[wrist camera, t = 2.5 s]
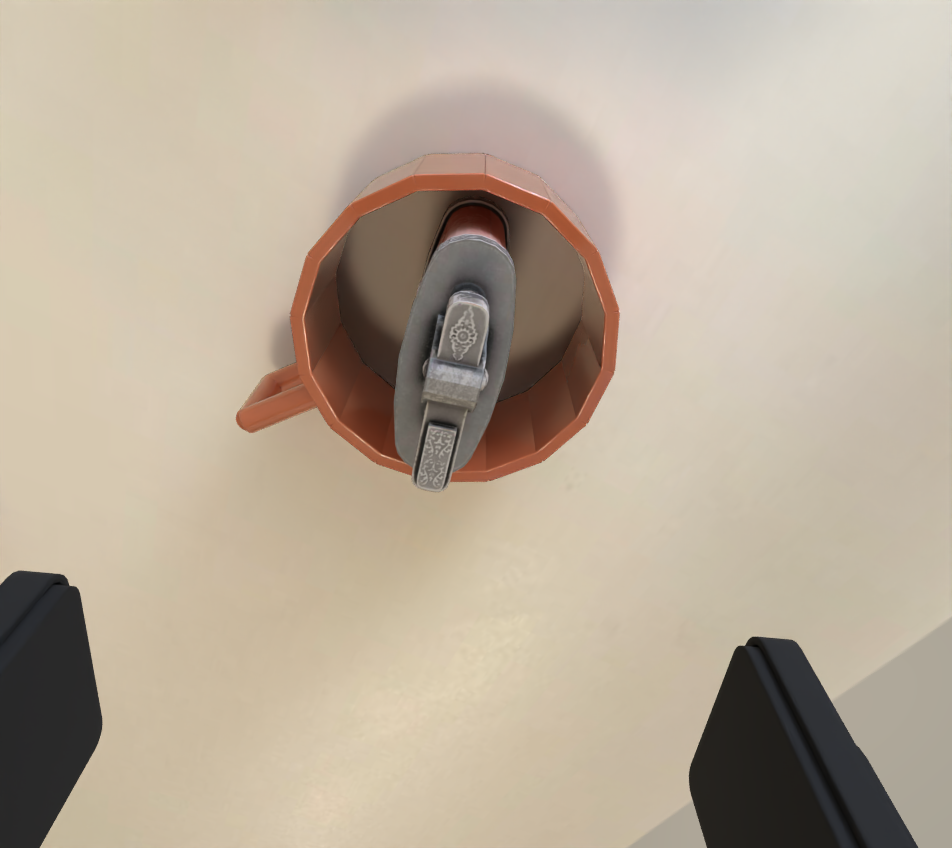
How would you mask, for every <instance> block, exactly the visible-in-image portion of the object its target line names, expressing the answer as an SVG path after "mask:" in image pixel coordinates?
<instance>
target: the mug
mask: <svg viewBox="0 0 952 848" xmlns="http://www.w3.org/2000/svg"><path fill="white" fill-rule="evenodd" d="M458 190H483V191H486V192H488V193H491V194H493V195H496V196H498V197H500V198H503V199H505V200H508V201H510V202H512V203H515V204H517V205H520V206H522V207H525V208H527V209H529V210H532V211H534V212H537V213H539V214H541V215H543V216H544V218H545V219H546V220H547V221H548V222H549V223H550V224H551V225H552V226H553V227H554V228H555V229H556V230H557V231H558V232H559V233H560V234H561V235H562V236H563V237H564V238H565V239H566V240H567V241H568V242H569V243H570V244H571V246H572V247H573V248H574V249H575V250H576V251H577V254H578V256H579V259H580V262H581V264H582V267H583V270H584V281H583V300H582V318H581V321H580V323H579V325H578V327H577V329H576V331H575V333H574V335H573V337H572V339H571V341H570V344H569V346H568V348H567V350H566V352H565V354H564V356H563V358H562V360H561V361H560V362H559V363H558V364H557V365H556V366H555V367H554V368H552V369H551V370H550V371H549V372H548V373H547V374H546V375H545V376H544V377H542V378H541V379H540V380H539V381H538V382H537V383H536V384H535V385H534V386H533V387H531V388H530V389H529V390H528V391H526V392H523V393H521V394H518V395H516V396H513V397H510V398H508V399H505V400H503V401H500V402H497V403H496V404H495V407H494V410H493V413H492V416H491V418H490V421H489V423H488V425H487V427H486V429H485V431H484V433H483V435H482V437H481V439H480V441H479V443H478V445H477V447H476V449H475V451H474V453H473V455H472V457H471V459H470V460H469V461H468V463H467V464H466V465H465V466H464V467H462V468H461V469H459V470H457V471H455V472H453V473H452V476H451V480H450V482H487V481H488V480H489V481H491V480H494V479H497V478H500V477H503V476H505V475H508V474H511V473H514V472H516V471H519V470H522V469H525V468H527V467H530V466H533V465H536V464H538V463H541V462H542V461H545V460H546V459H547V458H548V457H549V456H550V455H552V454H553V453H554V452H555V451H556V450H558V449H559V448H560V447H561V446H562V445H563V444H565V443H566V442H567V441H568V440H569V439H570V438H572V437H573V436H574V435H575V434H576V433H578V432H579V431H580V430H581V429H582V428H583V427H585V426H586V423H588V422H589V420H590V418H591V416H592V414H593V412H594V411H595V409H596V407H597V405H598V403H599V401H600V399H601V397H602V395H603V394H604V392H605V390H606V388H607V386H608V384H609V382H610V380H611V378H612V377H613V375H614V371H615V365H616V353H617V340H618V328H619V316H620V313H619V307H618V304H617V301H616V298H615V296H614V293H613V290H612V287H611V284H610V281H609V279H608V276H607V273H606V270H605V267H604V264H603V262H602V259H601V256H600V253H599V251H598V249H597V248H596V246H595V245H594V243H593V241H592V240H591V238H590V236H589V235H588V233H587V231H586V230H585V228H584V227H583V225H582V223H581V222H580V220H579V218H578V217H577V215H576V214H575V213H574V212H573V211H572V210H571V209H570V208H569V207H568V206H567V205H566V204H565V203H564V202H563V201H562V200H561V198H560V197H559V196H558V195H557V194H556V193H555V192H554V191H553V190H552V189H551V188H550V187H549V186H548V185H547V184H546V183H545V182H544V180H543V179H542V178H541V177H538V175H536V174H534V173H531V172H529V171H526V170H524V169H522V168H519V167H517V166H515V165H512V164H510V163H508V162H505V161H503V160H500V159H498V158H496V157H493V156H491V155H489V154H486V155H485V153H462V154H428V155H424V156H422V157H420V158H417V159H415V160H413V161H411V162H409V163H407V164H405V165H402V166H400V167H398V168H396V169H394V170H392V171H390V172H388V173H385V174H383V175H381V176H379V177H377V178H376V179H375V180H373V181H372V182H371V183H370V184H369V185H368V186H367V187H366V188H365V189H364V190H363V191H362V192H361V193H360V194H359V195H358V196H357V197H356V198H355V199H354V200H353V201H352V202H351V203H350V204H349V205H348V206H347V207H346V209H345V210H344V211H343V212H342V213H341V215H340V216H339V217H338V218H337V219H336V220H335V222H334V223H333V224H332V225H331V226H330V227H329V229H328V230H327V231H326V232H325V233H324V234H323V236H322V237H321V238H320V239H319V240H318V242H317V243H316V244H315V245H314V246H313V247H312V249H311V250H310V251H309V252H308V255H307V256H306V258H305V262H304V265H303V269H302V273H301V276H300V280H299V283H298V287H297V290H296V294H295V297H294V301H293V305H292V308H291V312H290V315H291V316H290V322H291V329H292V335H293V342H294V349H295V356H296V362H295V363H293V364H290V365H288V366H286V367H283V368H281V369H279V370H276V371H274V372H271V373H269V374H267V375H265V376H264V377H263V378H262V379H261V380H260V382H259V383H258V385H257V386H256V387H255V389H254V390H253V392H252V393H251V394H250V396H249V397H248V399H247V400H246V401H245V403H244V404H243V406H242V407H241V408H240V410H239V411H238V413H237V415H236V421H237V424H238V425H239V426H240V427H241V428H242V429H243V430H245V431H248V432H249V433H255V432H257V431H260V430H262V429H265V428H267V427H270V426H272V425H274V424H277V423H279V422H282V421H284V420H287V419H289V418H292V417H294V416H297V415H299V414H302V413H304V412H307V411H309V410H311V409H314V408H316V407H317V408H318V409H319V411H320V413H321V414H322V416H323V418H324V419H325V421H326V423H327V424H328V426H330V428H331V429H332V430H334V431H335V432H336V433H337V434H339V435H340V436H341V437H342V438H344V439H345V440H346V441H348V442H349V443H350V444H351V445H353V446H354V447H355V448H356V449H358V450H359V451H360V452H361V453H363V454H364V455H365V456H367V457H368V458H369V459H370V460H372V461H373V462H376V464H379V465H382V466H385V467H387V468H390V469H393V470H396V471H399V472H402V473H405V474H408V475H411V476H412V470H413V468H412V467H411V466H409V465H408V464H406V463H405V462H404V461H403V460H402V458H401V457H400V456H399V454H398V453H397V449H396V445H395V423H394V397H395V389H394V388H393V387H391V386H390V385H389V384H388V383H387V382H385V381H384V380H383V379H382V378H381V377H379V376H378V375H377V374H376V373H375V372H374V371H372V370H371V369H370V368H369V367H368V366H366V365H365V364H364V363H363V362H362V360H361V358H360V356H359V354H358V352H357V351H356V349H355V347H354V345H353V343H352V341H351V340H350V338H349V336H348V334H347V332H346V330H345V329H344V327H343V325H342V323H341V318H340V309H339V300H338V291H337V282H336V272H337V269H338V266H339V262H340V259H341V256H342V252H343V249H344V246H345V243H346V239H347V236H348V233H349V230H350V229H351V228H352V226H353V225H354V224H355V223H356V222H357V221H358V219H359V218H360V217H362V216H364V215H367V214H369V213H371V212H373V211H375V210H377V209H380V208H382V207H384V206H386V205H388V204H391V203H393V202H395V201H397V200H399V199H401V198H404V197H406V196H408V195H410V194H412V193H414V192H417V191H458Z"/></svg>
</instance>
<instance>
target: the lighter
mask: <svg viewBox="0 0 952 848" xmlns="http://www.w3.org/2000/svg"><path fill="white" fill-rule="evenodd" d="M509 238H510V232H509V225H508V219H507V217H506V215H505V214H504V212H503V210H502V209H501V208H500V207H499V206H498V205H497V204H495V203H494V202H493V201H490V200H488V199H485V198H483V197H473V196H470V197H466V198H462V199H459V200H457V201H456V202H454V203H453V204H451V205H450V206H449V208H448V209H447V211H446V212H445V214H444V216H443V218H442V221H441V223H440V226H439V228H438V231H437V233H436V236H435V238H434V241H433V243H432V246H431V248H430V251H429V254H428V257H427V261H426V265H425V269H424V272H423V276H422V280H421V281H420V284H419V287H418V290H417V294H416V297H415V299H414V302H413V305H412V309H411V312H410V316H409V320H408V324H407V327H406V331H405V335H404V339H403V342H402V346H401V350H400V354H399V360H398V369H397V378H396V387H395V397H394V423H395V445H396V449H397V453H398V454H399V456H400V457H401V458H402V460H403V461H404V462H405V463H406V464H408V465H409V466H411V467H412V468H413V470H412V482H413V484H414V485H415V486H416V487H417V488H419V489H422V490H426V491H431V492H440V491H444V490H445V489H446V488H447V487H448V485H449V483H450V480H451V476H452V473H453V472H455V471H457V470H459V469H461V468H462V467H464V466H465V465H466V464H467V463H468V461H469V460H470V459H471V457H472V455H473V453H474V451H475V449H476V447H477V445H478V443H479V441H480V439H481V437H482V435H483V433H484V431H485V429H486V427H487V425H488V423H489V421H490V418H491V416H492V413H493V410H494V407H495V404H496V401H497V398H498V395H499V393H500V390H501V387H502V384H503V381H504V378H505V373H506V368H507V362H508V357H509V352H510V346H511V341H512V335H513V329H514V313H515V296H516V275H515V268H514V262H513V260H512V259H511V257H510V255H509Z"/></svg>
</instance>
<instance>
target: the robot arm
mask: <svg viewBox="0 0 952 848" xmlns="http://www.w3.org/2000/svg"><path fill="white" fill-rule="evenodd" d="M101 731H102V715H101V709H100V703H99V698H98V692H97V687H96V681H95V675H94V670H93V664H92V658H91V653H90V647H89V642H88V636H87V630H86V625H85V619H84V614H83V608H82V602H81V597H80V593H79V590H78V589H77V587H74V586H69V583H68V580H67V578H66V577H65V576H64V575H61V574H52V573H41V572H30V571H17V572H14V573H12V574H11V575H10V576H9V577H7V578H6V579H5V581H4V582H3V583H2V584H1V585H0V848H40V846H41V844H42V843H43V841H44V839H45V837H46V835H47V834H48V832H49V830H50V828H51V827H52V825H53V823H54V821H55V819H56V818H57V816H58V814H59V812H60V811H61V809H62V807H63V805H64V803H65V802H66V800H67V798H68V796H69V795H70V793H71V791H72V789H73V788H74V786H75V784H76V782H77V780H78V779H79V777H80V775H81V773H82V772H83V770H84V768H85V766H86V764H87V763H88V761H89V759H90V757H91V756H92V754H93V752H94V750H95V748H96V746H97V744H98V741H99V739H100V735H101ZM689 786H690V792H691V796H692V799H693V803H694V806H695V809H696V813H697V816H698V819H699V822H700V826H701V829H702V832H703V836H704V839H705V842H706V846H707V848H918V846H917V845H916V843H915V841H914V839H913V838H912V836H911V834H910V832H909V831H908V829H907V827H906V826H905V824H904V822H903V820H902V819H901V817H900V815H899V813H898V812H897V810H896V808H895V807H894V805H893V803H892V801H891V799H890V798H889V796H888V794H887V792H886V791H885V789H884V787H883V785H882V784H881V782H880V780H879V779H878V777H877V775H876V773H875V772H874V770H873V768H872V766H871V765H870V763H869V761H868V759H867V758H866V756H865V755H864V754H863V752H862V751H861V750H860V748H859V747H858V746H856V744H855V743H854V741H853V739H852V737H851V736H850V734H849V732H848V730H847V729H846V727H845V725H844V723H843V722H842V720H841V718H840V716H839V714H838V713H837V711H836V709H835V707H834V706H833V704H832V702H831V700H830V699H829V697H828V695H827V693H826V692H825V690H824V688H823V686H822V685H821V683H820V681H819V679H818V678H817V676H816V674H815V672H814V671H813V669H812V667H811V665H810V664H809V662H808V660H807V658H806V656H805V655H804V653H803V651H802V649H801V648H800V647H799V645H798V644H797V643H796V642H795V641H793V640H788V639H777V638H766V637H751V638H750V639H749V640H748V642H747V643H746V645H745V646H738V647H737V648H736V649H735V651H734V653H733V656H732V659H731V661H730V664H729V666H728V669H727V672H726V674H725V677H724V680H723V682H722V685H721V687H720V690H719V693H718V695H717V698H716V700H715V703H714V706H713V708H712V711H711V714H710V716H709V719H708V721H707V724H706V727H705V729H704V732H703V734H702V737H701V740H700V742H699V745H698V747H697V750H696V753H695V755H694V758H693V761H692V763H691V766H690V771H689Z"/></svg>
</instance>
